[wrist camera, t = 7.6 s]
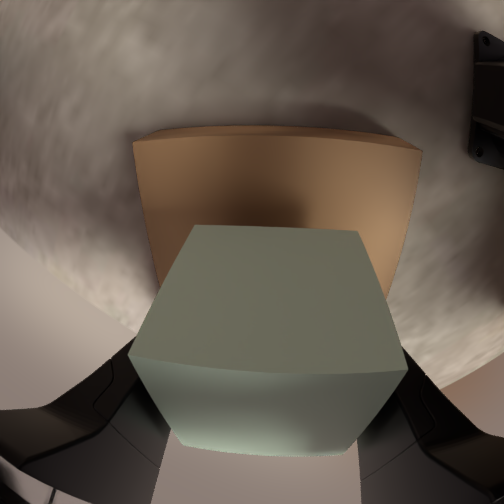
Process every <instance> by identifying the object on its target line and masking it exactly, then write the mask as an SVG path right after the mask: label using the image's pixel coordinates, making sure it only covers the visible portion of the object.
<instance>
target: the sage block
mask: <svg viewBox="0 0 504 504" xmlns="http://www.w3.org/2000/svg"><path fill="white" fill-rule="evenodd" d="M128 356H129V358H130V360H131V362H132V364H133V366H134V368H135V370H136V371H137V373H138V375H139V377H140V379H141V380H142V382H143V384H144V386H145V387H146V389H147V391H148V393H149V394H150V396H151V398H152V399H153V401H154V403H155V404H156V406H157V407H158V409H159V411H160V412H161V414H162V415H163V417H164V418H165V420H166V422H167V423H168V425H169V426H170V428H171V429H172V430H173V432H174V433H175V435H176V436H177V438H178V439H179V441H180V442H181V443H182V445H184V446H190V447H195V448H201V449H208V450H215V451H223V452H231V453H241V454H252V455H267V456H330V455H343V454H344V453H345V452H346V451H347V449H348V448H349V447H350V446H351V445H352V444H353V443H354V442H355V440H356V439H357V438H358V437H359V436H360V435H361V433H362V432H363V431H364V430H365V429H366V427H367V426H368V425H369V424H370V422H371V421H372V420H373V419H374V417H375V416H376V415H377V413H378V412H379V411H380V409H381V408H382V407H383V405H384V404H385V403H386V401H387V400H388V399H389V397H390V396H391V394H392V393H393V392H394V390H395V389H396V387H397V386H398V384H399V383H400V381H401V380H402V378H403V377H404V375H405V374H406V372H407V371H408V367H407V363H406V360H405V356H404V353H403V350H402V347H401V343H400V340H399V337H398V334H397V331H396V328H395V325H394V322H393V319H392V316H391V313H390V310H389V307H388V305H387V302H386V299H385V296H384V294H383V291H382V288H381V286H380V283H379V281H378V278H377V276H376V273H375V270H374V268H373V265H372V263H371V261H370V258H369V256H368V253H367V251H366V249H365V246H364V244H363V242H362V239H361V237H360V235H359V233H358V231H350V230H331V229H310V228H287V227H260V226H227V225H194V227H193V229H192V231H191V232H190V234H189V236H188V238H187V239H186V241H185V243H184V245H183V247H182V248H181V250H180V252H179V254H178V256H177V258H176V259H175V261H174V263H173V265H172V267H171V269H170V271H169V273H168V274H167V276H166V278H165V280H164V282H163V284H162V286H161V288H160V290H159V292H158V294H157V296H156V298H155V299H154V301H153V303H152V305H151V307H150V309H149V311H148V313H147V315H146V317H145V320H144V322H143V324H142V326H141V328H140V330H139V332H138V334H137V336H136V338H135V340H134V342H133V344H132V347H131V349H130V351H129V353H128Z"/></svg>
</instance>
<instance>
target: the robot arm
mask: <svg viewBox="0 0 504 504" xmlns="http://www.w3.org/2000/svg"><path fill="white" fill-rule="evenodd" d="M482 38H483V39H484V40H485V44H484V43H483V40H482ZM478 147H479V152H478V154H476V149H477V148H478ZM468 154H469V156H470V158H472V159H473V160H475V161H477V162H479V163H483V164H487V165H490V166H493V167H497V168H500V169H503V170H504V42H503V41H501V40H500V39H498V38H496V37H494V36H493V35H491V34H489V33H487V32H485V31H478V32H475V34H474V90H473V105H472V119H471V128H470V136H469V143H468ZM135 338H136V337H134V338H133V339H132V340H131V341H130V342H129V343H127V344H126V345H125V346H124V347H123V348H122V349H121V350H119V351H118V352H117V353H116V354H115V355H113V356H112V358H111V359H109V360H108V361H106V362H105V363H104V364H103V365H102V366H101V367H99V368H98V369H97V370H96V371H94V372H93V373H92V374H91V375H89V376H88V377H87V378H85V379H84V380H83V381H81V382H80V383H79V384H77V385H76V386H74V387H73V388H71V389H70V390H69V391H67V392H66V393H64V394H63V395H61V396H60V397H58V398H57V399H56V400H54V401H53V402H51V403H49V404H47V405H45V406H42V407H38V408H28V409H13V410H0V504H150V503H151V500H152V496H153V492H154V489H155V485H156V481H157V477H158V474H159V470H160V469H159V468H160V466H161V462H162V459H163V455H164V451H165V448H166V444H167V440H168V437H169V434H170V430H171V428H170V426H169V425H168V423H167V422H166V420H165V418H164V417H163V415H162V414H161V412H160V411H159V409H158V407H157V406H156V404H155V403H154V401H153V399H152V398H151V396H150V394H149V393H148V391H147V389H146V387H145V386H144V384H143V382H142V380H141V379H140V377H139V375H138V373H137V371H136V370H135V368H134V366H133V364H132V362H131V360H130V358H129V356H128V353H129V351H130V349H131V347H132V344H133V342H134V340H135ZM401 347H402V346H401ZM402 350H403V353H404V356H405V360H406V363H407V367H408V371H407V372H406V374H405V375H404V377H403V378H402V380H401V381H400V383H399V384H398V386H397V387H396V389H395V390H394V392H393V393H392V394H391V396H390V397H389V399H388V400H387V401H386V403H385V404H384V405H383V407H382V408H381V409H380V411H379V412H378V413H377V415H376V416H375V417H374V419H373V420H372V421H371V422H370V424H369V425H368V426H367V427H366V429H365V430H364V431H363V432H362V433H361V435H360V436H359V437H358V438H357V444H358V455H359V466H360V480H361V482H360V483H361V502H362V504H504V438H503V437H499V436H493V435H490V434H487V433H485V432H483V431H481V430H480V429H478V428H477V427H476V426H475V425H474V424H473V423H472V422H471V421H470V420H469V419H468V418H467V417H466V416H465V415H464V414H463V413H462V412H461V411H460V410H459V409H458V408H457V407H456V406H455V405H454V404H452V402H451V401H450V400H449V399H448V398H447V397H446V396H445V395H444V394H443V393H442V392H441V391H440V390H439V389H438V387H437V386H436V385H435V384H434V383H433V382H432V381H431V379H430V378H429V377H428V376H427V375H425V372H424V371H423V370H422V369H421V368H420V367H419V365H418V364H417V363H416V362H415V361H414V360H413V359H412V357H411V356H410V355H409V354H408V353H407V352H406V351H405V349H404V348H403V347H402Z"/></svg>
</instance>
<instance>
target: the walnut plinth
mask: <svg viewBox="0 0 504 504" xmlns="http://www.w3.org/2000/svg"><path fill="white" fill-rule="evenodd" d="M132 144H133V152H134V160H135V167H136V173H137V180H138V186H139V192H140V198H141V203H142V209H143V214H144V219H145V224H146V229H147V234H148V239H149V243H150V248H151V252H152V257H153V261H154V265H155V269H156V274H157V278H158V282H159V285H160V288H161V286H162V284H163V282H164V280H165V278H166V276H167V274H168V273H169V271H170V269H171V267H172V265H173V263H174V261H175V259H176V258H177V256H178V254H179V252H180V250H181V248H182V247H183V245H184V243H185V241H186V239H187V238H188V236H189V234H190V232H191V231H192V229H193V227H194V225H227V226H260V227H287V228H310V229H331V230H350V231H358V233H359V235H360V237H361V239H362V242H363V244H364V246H365V249H366V251H367V253H368V256H369V258H370V261H371V263H372V265H373V268H374V270H375V273H376V276H377V278H378V281H379V283H380V286H381V288H382V291H383V294H384V296H385V299H386V298H387V295H388V293H389V290H390V287H391V284H392V280H393V277H394V274H395V271H396V268H397V265H398V261H399V258H400V254H401V251H402V247H403V244H404V240H405V236H406V232H407V228H408V224H409V220H410V216H411V212H412V207H413V203H414V198H415V193H416V188H417V183H418V178H419V172H420V166H421V160H422V153H423V151H422V150H420V149H418V148H416V147H415V146H413V145H411V144H409V143H407V142H406V141H404V140H402V139H400V138H398V137H394V136H387V135H381V134H374V133H366V132H358V131H349V130H339V129H328V128H315V127H298V126H269V125H236V126H207V127H190V128H177V129H166V130H158V131H156V132H154V133H152V134H149V135H147V136H145V137H143V138H141V139H138V140H136V141H134V142H132Z"/></svg>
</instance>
